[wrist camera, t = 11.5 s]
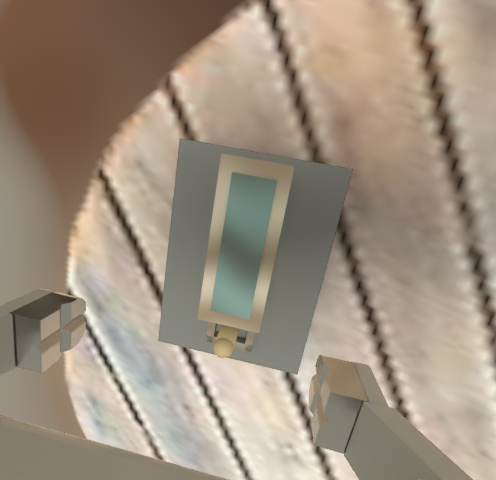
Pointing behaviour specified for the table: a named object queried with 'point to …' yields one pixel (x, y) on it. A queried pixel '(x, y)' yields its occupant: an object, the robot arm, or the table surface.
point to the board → (285, 265)
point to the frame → (243, 244)
